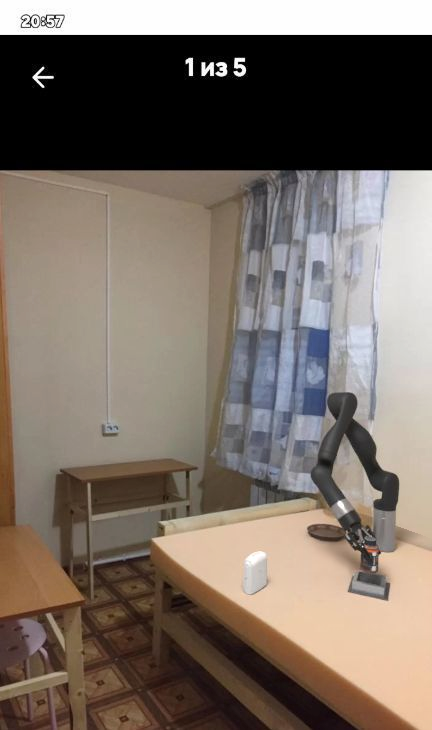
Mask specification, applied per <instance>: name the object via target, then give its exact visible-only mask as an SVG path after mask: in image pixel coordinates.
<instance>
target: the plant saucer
mask: <svg viewBox="0 0 432 730" xmlns="http://www.w3.org/2000/svg"><path fill="white" fill-rule="evenodd" d="M306 530H307V532H308V534H309V535H310V536H311V537H312V538H314V539H315V540H319V541H322V542H323V541H324V542H339V541H340V540H343V538H345V537H344V536H345V535H346V534H347V531H344V530H343V528H342V526H338V525H335V524H328V523H314V524H310V525H308V526H307V527H306Z"/></svg>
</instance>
